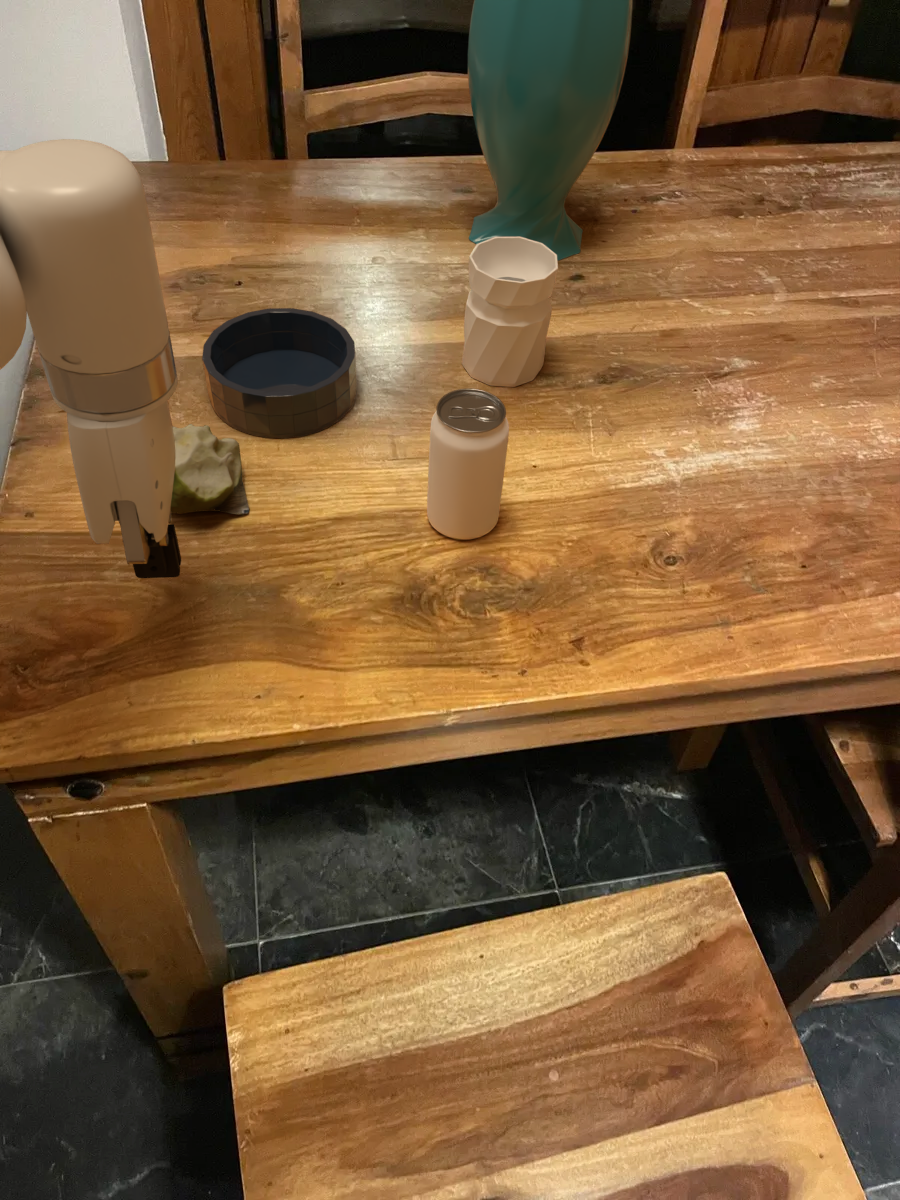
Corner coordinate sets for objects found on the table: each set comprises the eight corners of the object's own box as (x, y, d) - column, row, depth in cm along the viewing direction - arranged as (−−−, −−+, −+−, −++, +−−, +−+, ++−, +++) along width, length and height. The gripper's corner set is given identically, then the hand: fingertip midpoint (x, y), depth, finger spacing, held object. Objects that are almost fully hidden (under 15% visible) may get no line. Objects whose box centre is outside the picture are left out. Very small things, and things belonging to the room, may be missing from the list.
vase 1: (448, 260, 112) (463, -29, 90) (468, 194, 124) (486, -78, 101) (590, 278, 111) (642, -9, 89) (598, 210, 123) (646, -61, 100)
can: (498, 544, 82) (512, 437, 73) (425, 541, 82) (429, 433, 73) (497, 493, 86) (510, 386, 77) (427, 490, 86) (432, 383, 77)
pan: (205, 441, 89) (197, 398, 85) (214, 351, 98) (207, 309, 95) (359, 436, 90) (358, 394, 87) (353, 348, 100) (351, 306, 96)
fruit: (173, 554, 81) (135, 486, 75) (149, 493, 87) (112, 426, 81) (271, 510, 83) (241, 441, 76) (241, 453, 88) (211, 385, 82)
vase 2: (445, 367, 98) (451, 262, 89) (489, 330, 103) (499, 226, 94) (515, 398, 96) (529, 293, 86) (558, 359, 100) (575, 255, 91)
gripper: (65, 297, 61) (119, 503, 75) (22, 444, 51) (94, 650, 65) (183, 297, 62) (215, 501, 76) (163, 442, 52) (204, 645, 66)
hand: (159, 569), depth 70 cm, fingers closed
